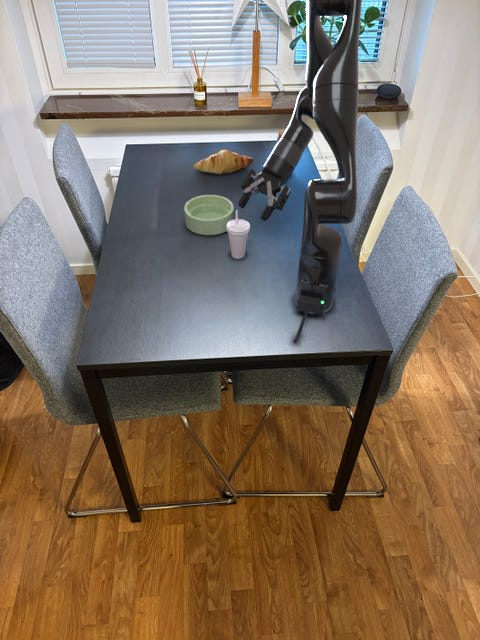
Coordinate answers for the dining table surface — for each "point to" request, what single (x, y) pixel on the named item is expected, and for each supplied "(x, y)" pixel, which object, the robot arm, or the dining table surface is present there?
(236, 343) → the dining table surface
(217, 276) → the dining table surface
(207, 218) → the bowl
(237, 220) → the smoothie
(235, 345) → the dining table surface
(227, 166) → the croissant
